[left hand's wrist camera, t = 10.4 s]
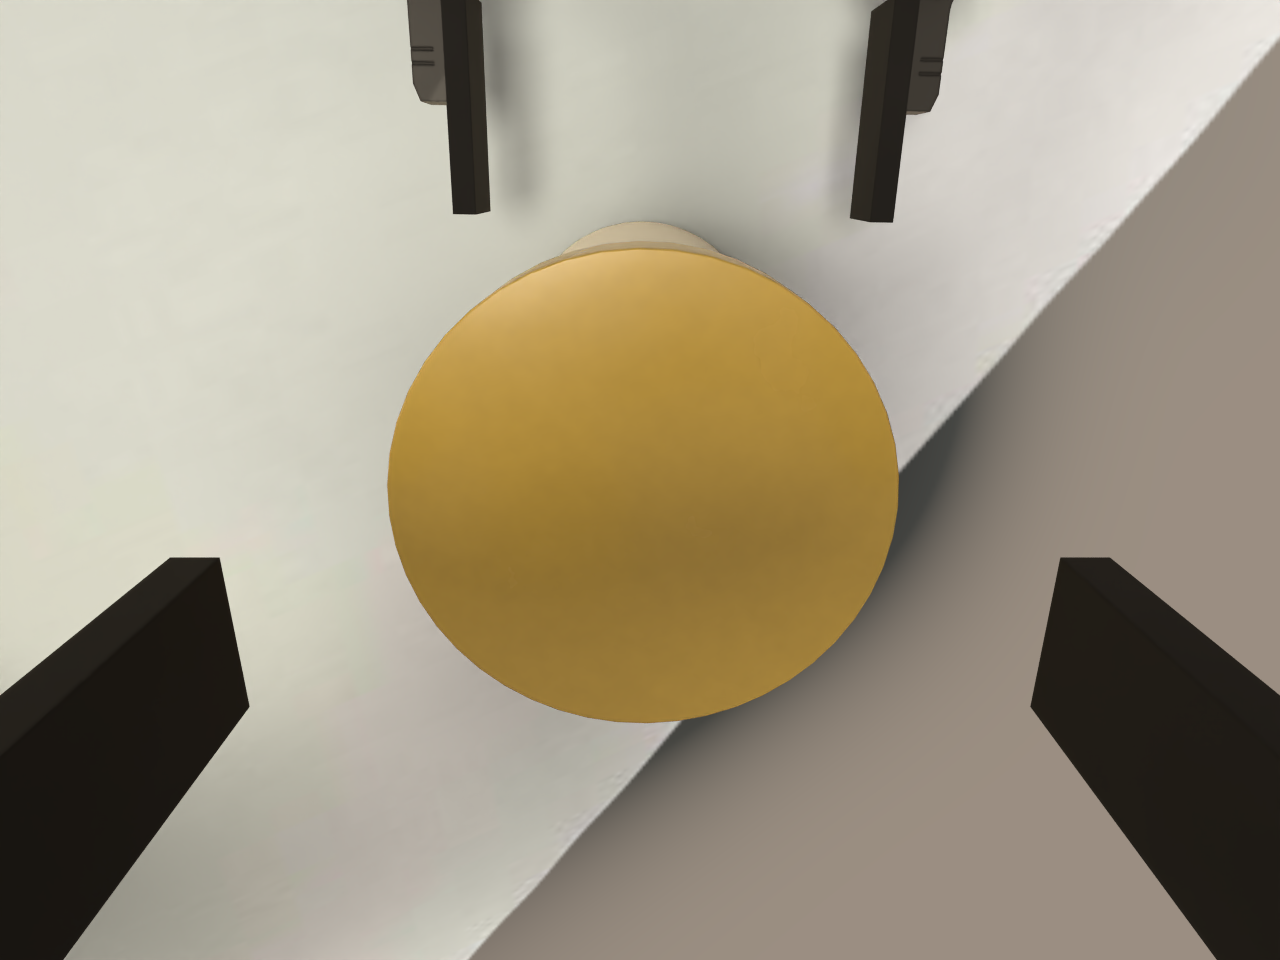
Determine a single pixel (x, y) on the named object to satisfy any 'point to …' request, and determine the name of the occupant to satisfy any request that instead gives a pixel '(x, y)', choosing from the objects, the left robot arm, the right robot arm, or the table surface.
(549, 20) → the table surface
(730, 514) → the lid
